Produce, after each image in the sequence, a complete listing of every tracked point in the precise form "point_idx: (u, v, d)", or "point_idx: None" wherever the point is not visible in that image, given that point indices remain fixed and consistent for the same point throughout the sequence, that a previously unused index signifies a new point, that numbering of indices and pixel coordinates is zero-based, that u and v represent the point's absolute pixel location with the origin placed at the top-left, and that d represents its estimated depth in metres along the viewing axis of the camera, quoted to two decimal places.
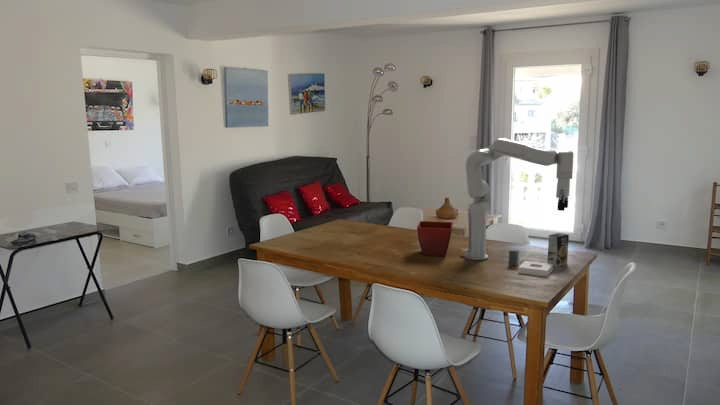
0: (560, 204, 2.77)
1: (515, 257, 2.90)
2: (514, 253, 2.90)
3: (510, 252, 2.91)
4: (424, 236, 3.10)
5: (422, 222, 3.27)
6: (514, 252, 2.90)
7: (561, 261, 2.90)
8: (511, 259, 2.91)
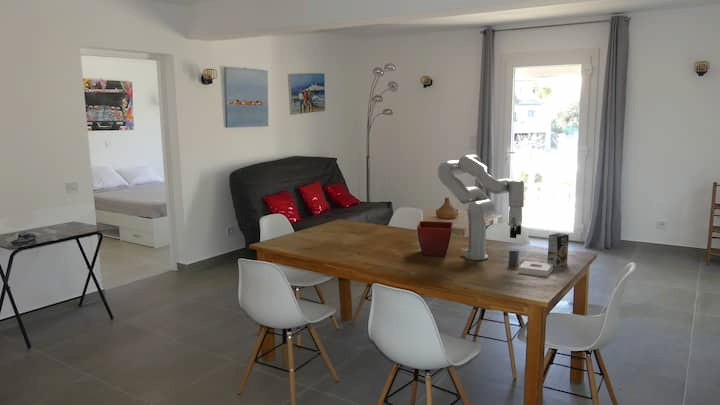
0: (512, 232, 2.85)
1: (515, 257, 2.90)
2: (514, 253, 2.90)
3: (510, 252, 2.91)
4: (424, 236, 3.10)
5: (422, 222, 3.27)
6: (514, 252, 2.90)
7: (561, 261, 2.90)
8: (511, 259, 2.91)
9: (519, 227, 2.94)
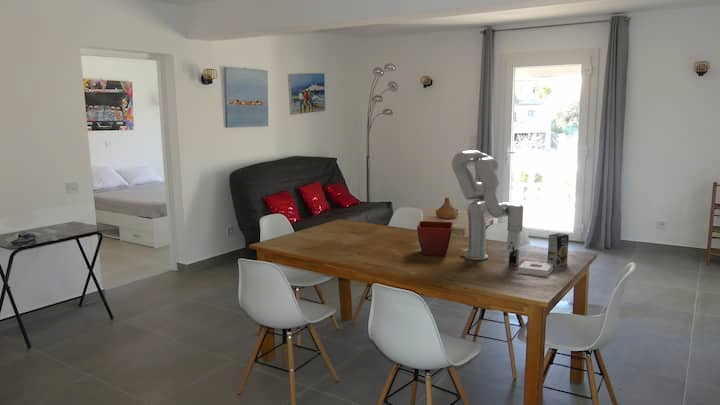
0: (511, 257, 2.90)
1: None
2: None
3: None
4: (424, 236, 3.10)
5: (422, 222, 3.27)
6: None
7: (561, 261, 2.90)
8: None
9: None
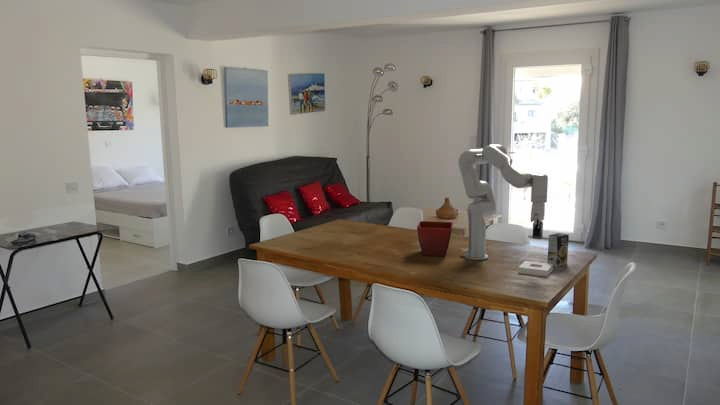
0: (535, 230, 2.75)
1: None
2: None
3: None
4: (424, 236, 3.10)
5: (422, 222, 3.27)
6: None
7: (561, 261, 2.90)
8: None
9: None
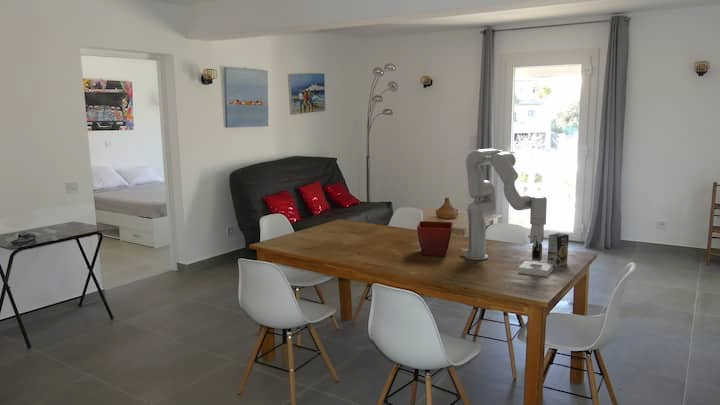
0: (534, 252, 2.76)
1: (539, 251, 2.77)
2: None
3: None
4: (424, 236, 3.10)
5: (422, 222, 3.27)
6: None
7: (561, 261, 2.90)
8: None
9: None
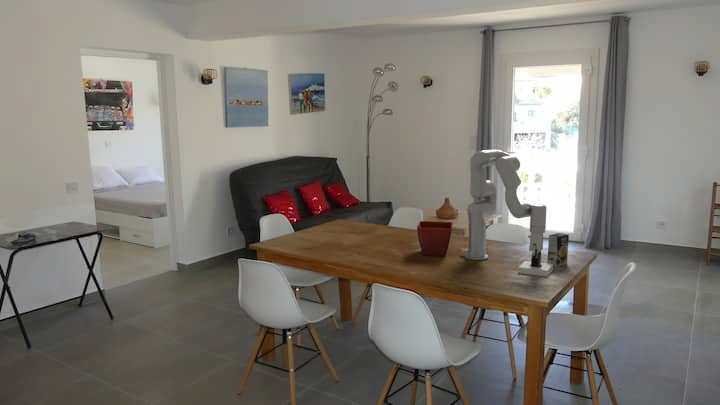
0: (533, 259, 2.76)
1: (538, 262, 2.78)
2: None
3: None
4: (424, 236, 3.10)
5: (422, 222, 3.27)
6: None
7: (561, 261, 2.90)
8: None
9: None
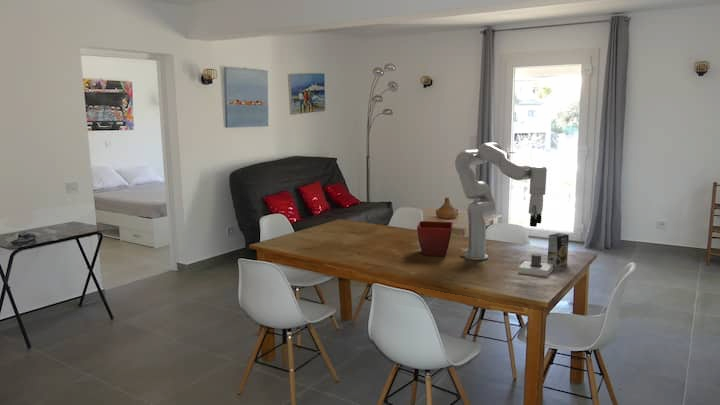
0: (532, 220, 2.74)
1: (538, 262, 2.78)
2: (537, 258, 2.78)
3: (532, 257, 2.79)
4: (424, 236, 3.10)
5: (422, 222, 3.27)
6: (537, 257, 2.78)
7: (561, 261, 2.90)
8: (533, 264, 2.79)
9: (539, 215, 2.82)
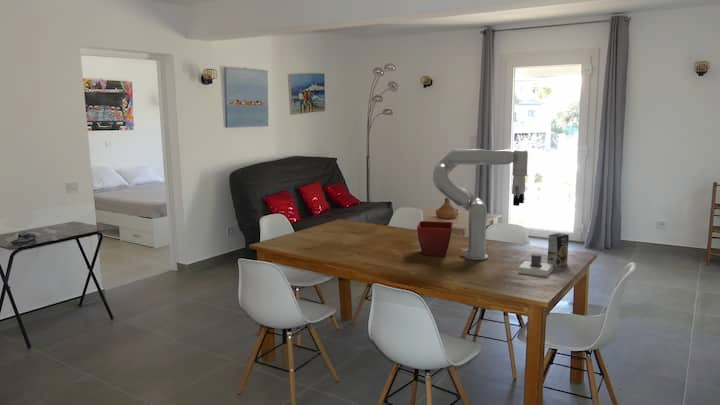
0: (515, 199, 2.96)
1: (538, 262, 2.78)
2: (537, 258, 2.78)
3: (532, 257, 2.79)
4: (424, 236, 3.10)
5: (422, 222, 3.27)
6: (537, 257, 2.78)
7: (561, 261, 2.90)
8: (533, 264, 2.79)
9: (522, 196, 3.05)
